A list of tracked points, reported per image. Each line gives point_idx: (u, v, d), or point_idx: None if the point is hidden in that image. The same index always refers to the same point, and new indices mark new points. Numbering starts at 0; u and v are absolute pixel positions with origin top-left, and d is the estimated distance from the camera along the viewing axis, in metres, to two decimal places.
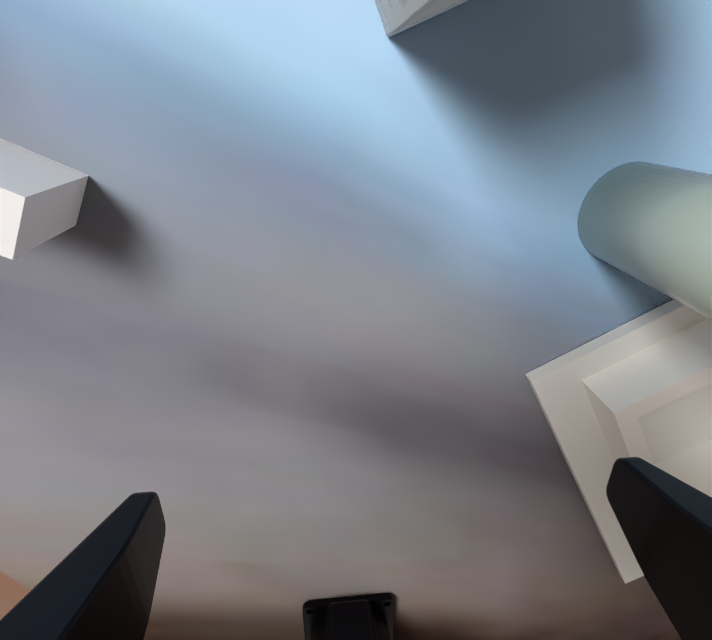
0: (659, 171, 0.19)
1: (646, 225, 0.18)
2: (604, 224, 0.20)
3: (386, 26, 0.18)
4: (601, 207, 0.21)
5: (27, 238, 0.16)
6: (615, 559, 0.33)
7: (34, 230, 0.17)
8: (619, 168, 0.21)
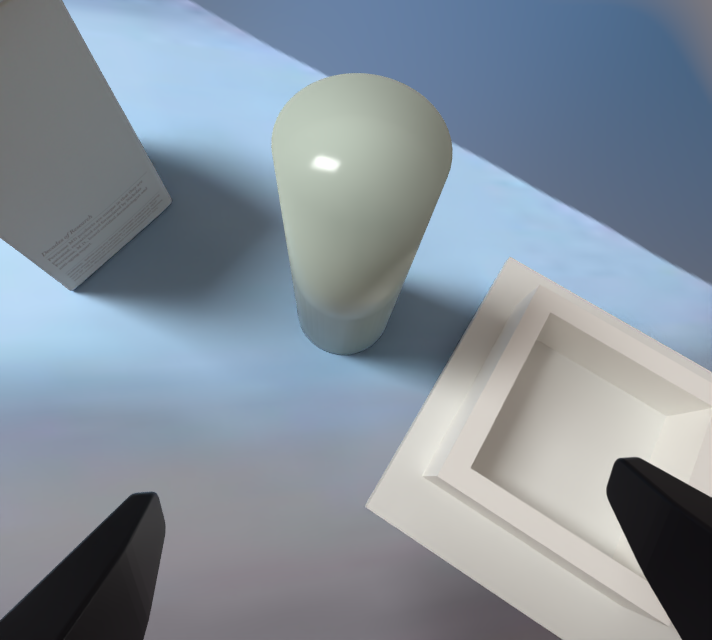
0: None
1: (293, 285, 0.20)
2: (300, 316, 0.22)
3: None
4: (297, 309, 0.23)
5: None
6: None
7: None
8: None
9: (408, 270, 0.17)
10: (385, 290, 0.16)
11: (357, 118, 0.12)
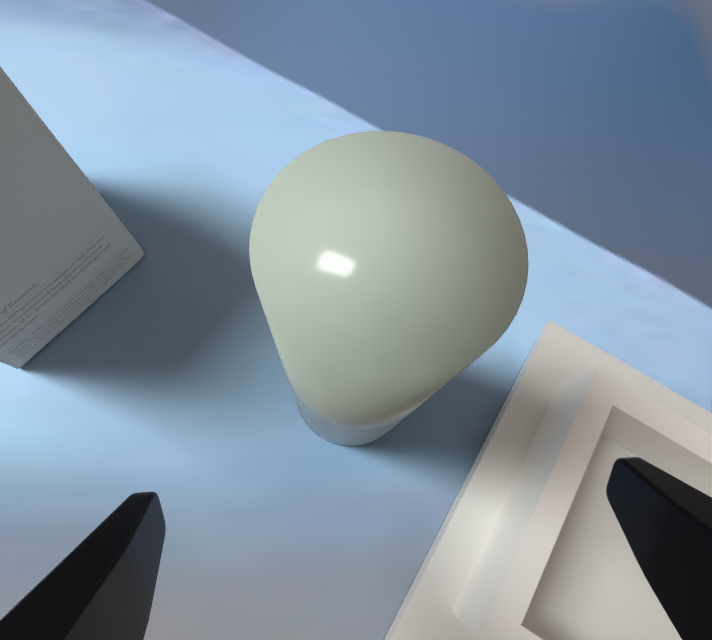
0: None
1: None
2: None
3: None
4: None
5: None
6: None
7: None
8: None
9: None
10: (412, 409, 0.12)
11: (381, 202, 0.08)
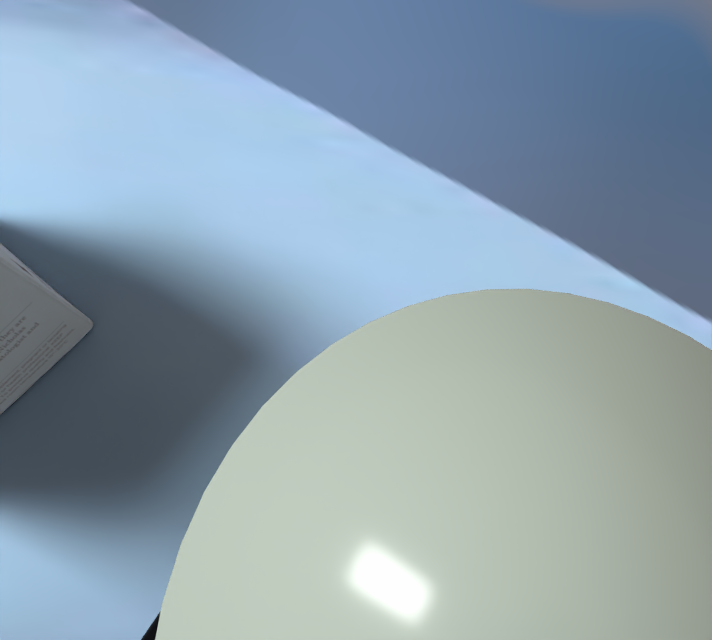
0: None
1: None
2: None
3: None
4: None
5: None
6: None
7: None
8: None
9: None
10: None
11: (529, 516, 0.03)
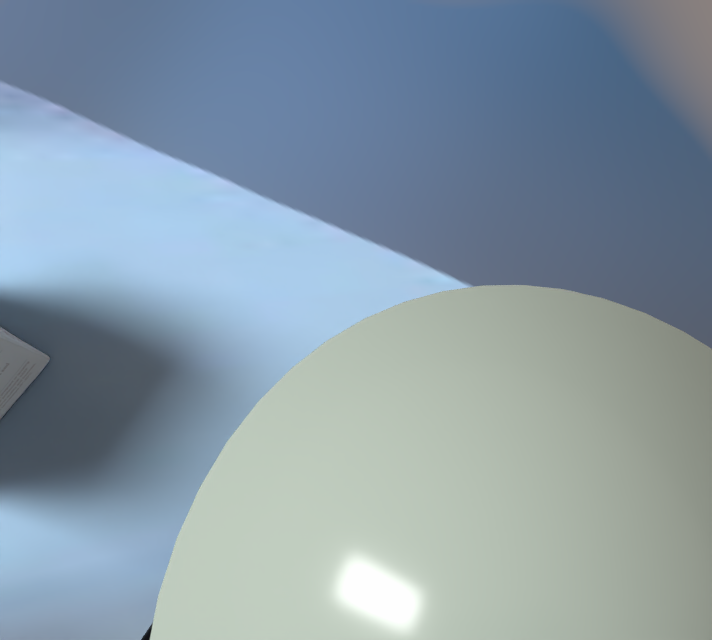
0: None
1: None
2: None
3: None
4: None
5: None
6: None
7: None
8: None
9: None
10: None
11: (523, 510, 0.03)
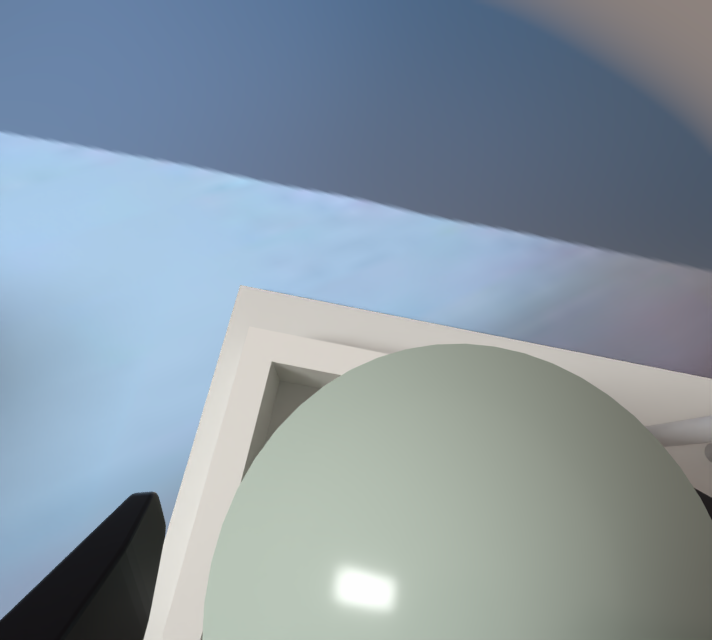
0: None
1: None
2: None
3: None
4: None
5: None
6: None
7: None
8: None
9: None
10: None
11: (459, 506, 0.04)
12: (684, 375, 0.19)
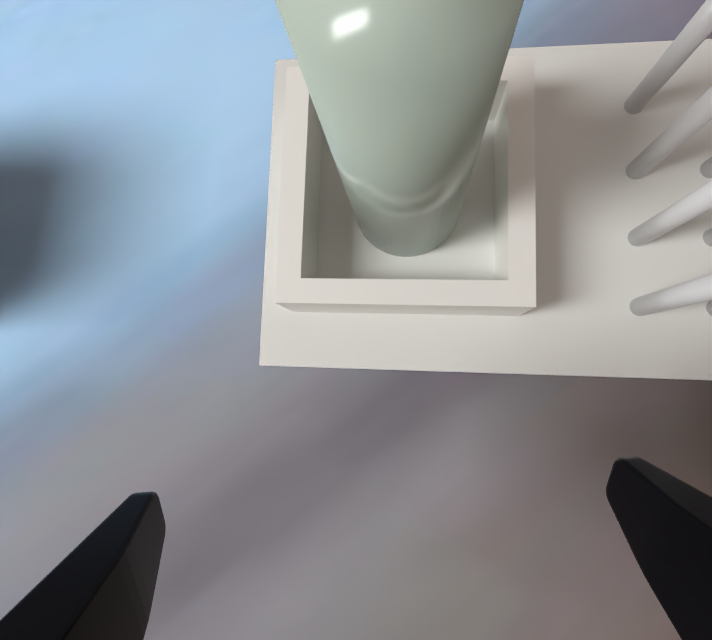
0: None
1: None
2: (360, 222, 0.19)
3: None
4: None
5: None
6: (675, 376, 0.19)
7: None
8: None
9: (482, 135, 0.13)
10: (458, 168, 0.13)
11: None
12: None
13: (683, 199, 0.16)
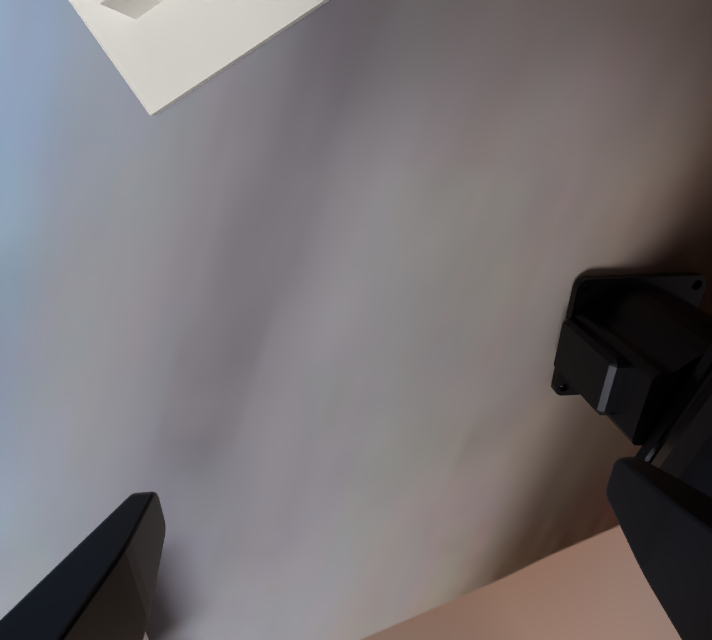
0: None
1: None
2: None
3: None
4: None
5: None
6: None
7: None
8: None
9: None
10: None
11: None
12: None
13: None
